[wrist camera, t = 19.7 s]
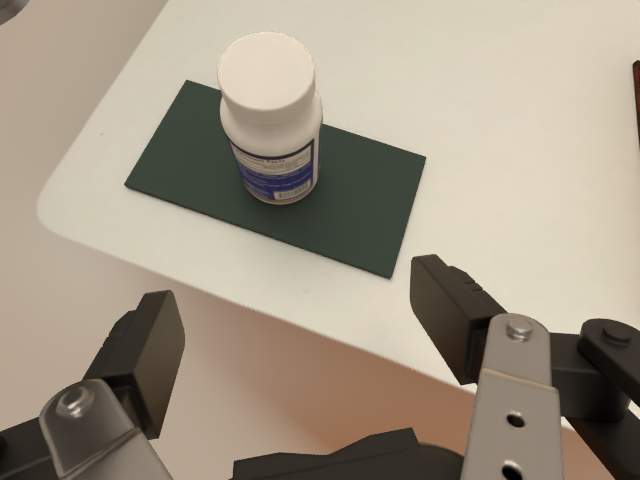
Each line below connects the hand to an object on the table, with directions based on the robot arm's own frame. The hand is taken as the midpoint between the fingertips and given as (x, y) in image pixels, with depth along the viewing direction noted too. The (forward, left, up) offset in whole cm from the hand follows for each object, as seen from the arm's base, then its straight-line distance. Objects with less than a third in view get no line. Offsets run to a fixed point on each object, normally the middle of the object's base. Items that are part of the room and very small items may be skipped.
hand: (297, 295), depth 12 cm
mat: (-9, +6, -12) cm, 16 cm away
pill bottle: (-9, +6, -12) cm, 16 cm away
